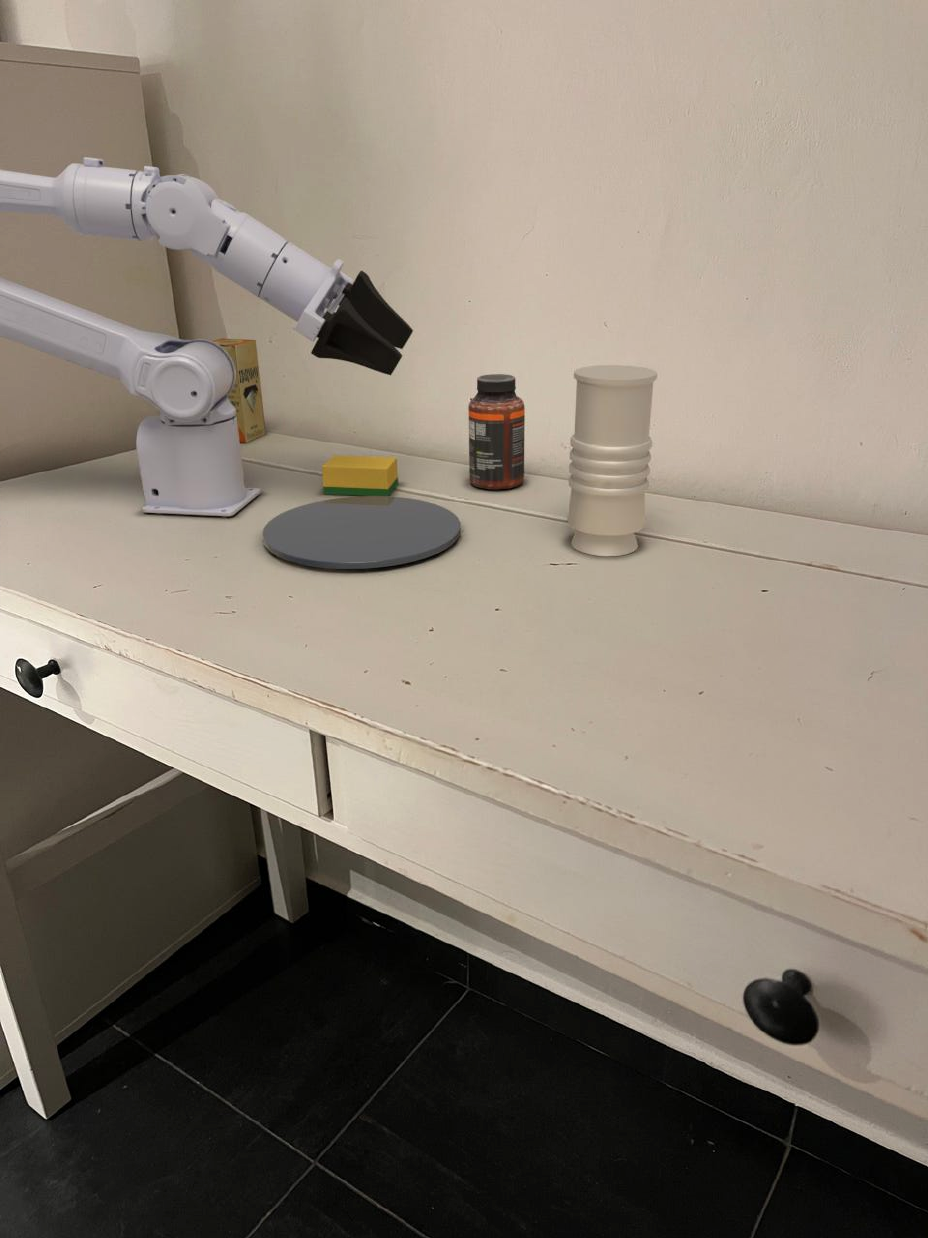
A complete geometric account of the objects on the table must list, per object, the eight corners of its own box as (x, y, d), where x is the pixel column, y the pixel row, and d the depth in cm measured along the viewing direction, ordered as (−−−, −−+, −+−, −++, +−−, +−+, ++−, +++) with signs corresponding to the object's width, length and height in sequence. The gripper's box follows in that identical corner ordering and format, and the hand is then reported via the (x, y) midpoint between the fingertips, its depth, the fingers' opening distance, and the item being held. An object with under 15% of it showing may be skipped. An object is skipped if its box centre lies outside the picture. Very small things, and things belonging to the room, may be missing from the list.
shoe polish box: (212, 440, 114) (199, 343, 109) (233, 431, 118) (221, 338, 113) (246, 443, 113) (234, 345, 107) (265, 433, 117) (255, 339, 112)
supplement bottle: (525, 476, 98) (527, 371, 93) (522, 492, 93) (525, 382, 88) (471, 475, 99) (470, 371, 94) (466, 491, 93) (465, 381, 88)
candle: (659, 542, 79) (674, 371, 72) (614, 564, 74) (627, 383, 68) (595, 525, 83) (605, 361, 77) (550, 545, 79) (556, 373, 72)
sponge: (323, 494, 93) (321, 466, 92) (336, 481, 97) (334, 455, 96) (388, 497, 92) (387, 468, 90) (398, 484, 96) (397, 457, 94)
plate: (231, 567, 75) (230, 556, 74) (301, 501, 91) (300, 492, 90) (440, 579, 72) (440, 567, 71) (474, 509, 88) (474, 499, 87)
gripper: (272, 249, 73) (413, 340, 76) (311, 215, 85) (432, 295, 88) (238, 321, 76) (374, 405, 80) (280, 279, 88) (397, 354, 92)
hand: (402, 352), depth 84 cm, fingers open, 7 cm apart
